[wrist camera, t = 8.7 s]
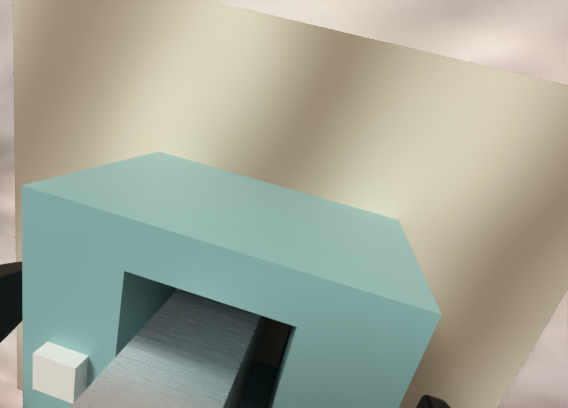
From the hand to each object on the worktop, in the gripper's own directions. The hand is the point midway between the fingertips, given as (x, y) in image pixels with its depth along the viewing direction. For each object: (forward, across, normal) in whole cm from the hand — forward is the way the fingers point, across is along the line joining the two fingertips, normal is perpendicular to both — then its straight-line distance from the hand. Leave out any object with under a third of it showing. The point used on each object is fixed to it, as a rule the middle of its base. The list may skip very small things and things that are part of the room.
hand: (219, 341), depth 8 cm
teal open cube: (+2, 0, 0) cm, 2 cm away
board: (+4, 0, 0) cm, 4 cm away
